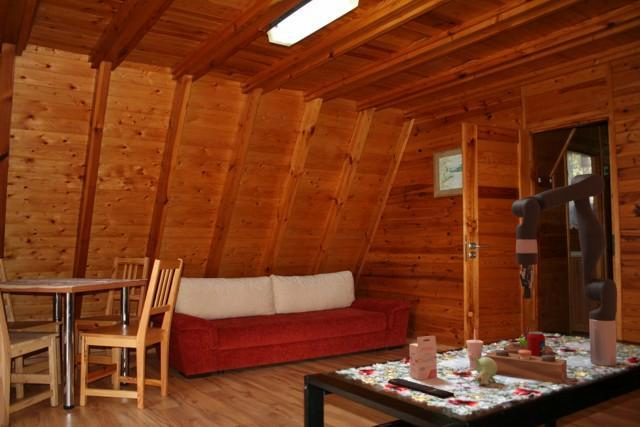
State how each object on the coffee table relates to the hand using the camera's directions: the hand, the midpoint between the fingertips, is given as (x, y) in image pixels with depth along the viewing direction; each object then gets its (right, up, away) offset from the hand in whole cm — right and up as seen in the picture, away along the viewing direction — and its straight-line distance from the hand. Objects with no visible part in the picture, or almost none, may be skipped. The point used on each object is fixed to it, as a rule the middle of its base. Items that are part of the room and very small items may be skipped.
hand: (527, 298), depth 199 cm
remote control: (-45, -26, -25) cm, 58 cm away
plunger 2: (+3, -26, -11) cm, 28 cm away
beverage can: (+8, -28, +12) cm, 31 cm away
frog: (-22, -26, -18) cm, 39 cm away
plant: (+13, -29, +33) cm, 46 cm away
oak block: (-3, -27, -6) cm, 27 cm away
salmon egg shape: (-3, -25, -6) cm, 26 cm away
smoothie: (-18, -27, +6) cm, 33 cm away
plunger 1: (-10, -26, -2) cm, 28 cm away
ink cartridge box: (-41, -27, -10) cm, 50 cm away
